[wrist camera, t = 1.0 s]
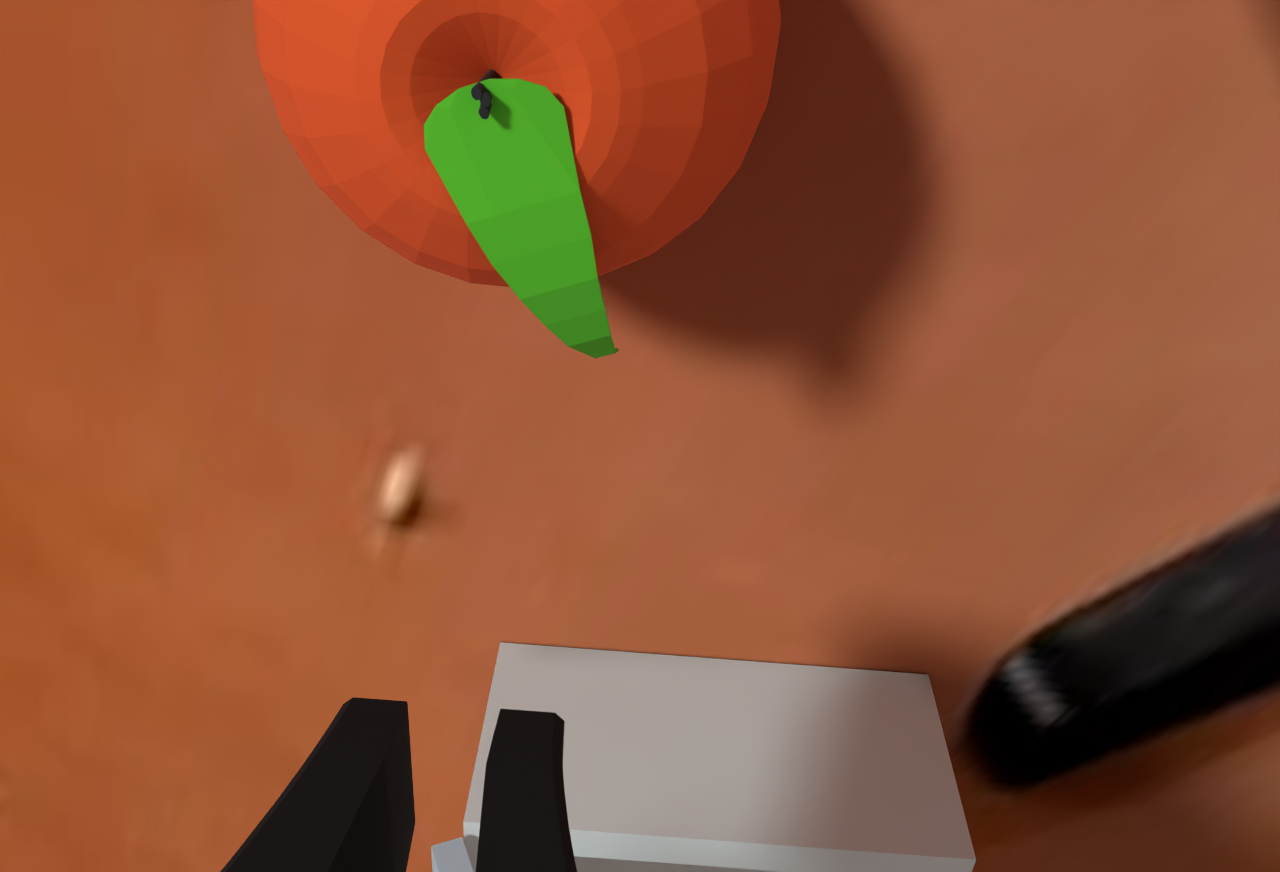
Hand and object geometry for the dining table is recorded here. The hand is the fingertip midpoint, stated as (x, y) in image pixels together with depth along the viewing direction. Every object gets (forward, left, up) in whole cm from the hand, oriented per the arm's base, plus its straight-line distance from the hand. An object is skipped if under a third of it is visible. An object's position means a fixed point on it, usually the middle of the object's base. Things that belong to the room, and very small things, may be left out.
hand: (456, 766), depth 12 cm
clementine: (0, -6, -11) cm, 12 cm away
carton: (-4, +14, -10) cm, 18 cm away
